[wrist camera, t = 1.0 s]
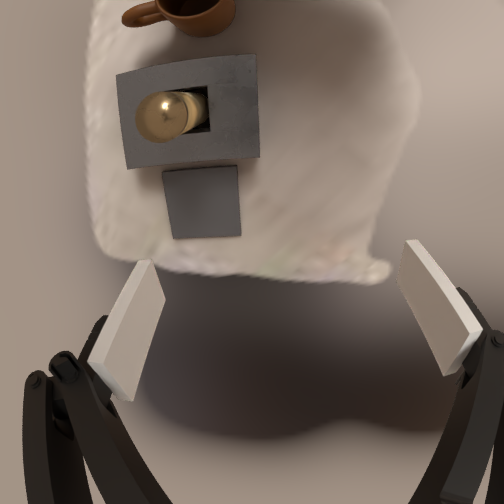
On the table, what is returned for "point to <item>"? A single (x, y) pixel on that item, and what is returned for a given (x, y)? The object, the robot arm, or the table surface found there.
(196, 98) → the gold metal cylinder
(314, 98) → the table surface
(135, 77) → the housing
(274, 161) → the table surface
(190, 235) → the mat
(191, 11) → the mug
